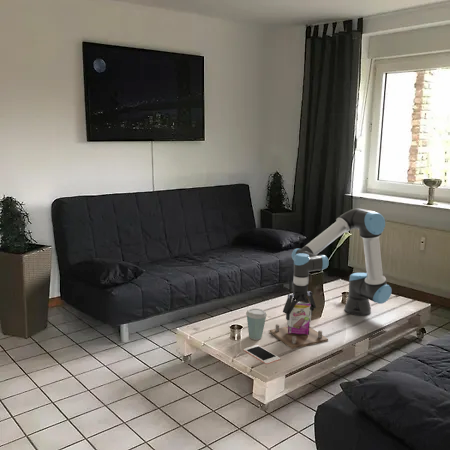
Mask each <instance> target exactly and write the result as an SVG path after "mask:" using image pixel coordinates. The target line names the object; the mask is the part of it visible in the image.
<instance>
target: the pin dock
mask: <svg viewBox="0 0 450 450" xmlns="http://www.w3.org/2000/svg"><path fill="white" fill-rule="evenodd" d="M269 333H270V334H272V336H274V337H275V338H277V339H278V340H279V341H281V342H282V343H283V344H285V345H286V346H287V347H288V348H290V349H292V350H293V349H297V348H302V347H307V346H312V345H315V344H316V345H317V344H321V343H326V342H329V338H328V337H326V336H324V335H323V331H322V330H318V331H316V330H315V329H314V328H312V327H309V335H305V334H288V326H283V327H280V324H278V323H276V324H275V328H273V329H270V330H269Z"/></svg>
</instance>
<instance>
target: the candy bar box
mask: <svg viewBox="0 0 450 450" xmlns="http://www.w3.org/2000/svg"><path fill="white" fill-rule="evenodd" d="M291 302H292V301H291ZM290 305H291V304H290ZM310 310H311V303H310V301H309V303H306V302H304V301H300V302H298V303H296V305H295V306H294V308H293V310H292V311H291V313H290V314H291V326H289V325H287V327H288V334H305V335H309V327H310V324H311V322H310ZM310 328H311V327H310Z"/></svg>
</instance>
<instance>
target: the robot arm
mask: <svg viewBox="0 0 450 450" xmlns="http://www.w3.org/2000/svg"><path fill="white" fill-rule="evenodd" d="M335 220H336V221H335V222H334V223H332V224H331V225H330V226H328V228H326V229H325V230H323V231H322V232H321V233H319V234H318V235H317V236H316V237H315V238H313V239H312V240H310V241H309V242H308V243H307V244H306V245H304V246H303V247H301V248H295V249H293V250H292V252H291V258H292V260H293V282H292V283H293V284H292V290H293V291H292V294H290V293H288V294H287V299H286V301H285V303H284V306H283V309H282V312H283V314H285V319H286V325H287V326H288V325H289V326H291V314H290V313H291V311H292V310H293V308H294V306H295V305H296V303H298V302H306V303H309V302H310V304H311V310H310V323H312V322H311V321H312V315H313V311H314V310H315V309H316V308H317V307H316V302H315V300H314V297H313V292H312V291H311V290H308V289H309V275H310V274H309V273H310V272H315V271H323V270H325V269H327V268H328V266H329V263H330V262H329V258H328V257H327V255H325V254H319V253H320V252H322V251H323V250H325V249H326V248H327V247H328V246H329V245H330V244H332V243H333V242H334V241H335V240H337V239H338V238H339V237H341V236H342V235H343V234H344V233H349V232H350V231H351V230H353V229H354V230H358V231H359V232H358V233H359V237H360V238H361V239H362V242H363V243H362V244H363V253H364V259H365V260H364V261H365V270H366V272H353V273H351V274H350V275H349V279H348V297H347V300H346V302H345V304H344V311H345V312H347V313H348V314H350V315H355V316H367V315H370V314H371V313H372V311H371V310H372V308H371V303H370V301H372V302H373V303H375V304H381V305H383V304H384V303H386V302H387V301H388V300H389V299H390V297H391V296H392V287H391V285H389V284H387V278H386V276H385V275H383V274H384V273H383V262H382V253H381V242H380V237H381V236H382V233H383V232H384V230H385V228H386V220H385V217H384V216H383V214H381V213H380V212H376V211H374V210H368V209H363V208H359V207H357V208H356V207H355V208H353V209H350V210H348V211H346V212H344V213H343V214H341V215H339V216H338V217H337V218H336V219H335ZM318 254H319V255H318ZM307 297H308V298H307ZM291 301H292V302H291ZM290 304H291V305H290Z"/></svg>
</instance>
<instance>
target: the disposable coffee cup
mask: <svg viewBox="0 0 450 450" xmlns="http://www.w3.org/2000/svg"><path fill="white" fill-rule="evenodd" d="M245 314H246V321H247V331H248V337H249V339H251V340H253V341H254V340H255V341H256V340H257V341H258V340H261V338H262V337H263V334H264V329H265V324H266V319H267V316H268V314H267V312H266V310H264V309H261V308H248V310H247V311H246V313H245Z"/></svg>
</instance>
